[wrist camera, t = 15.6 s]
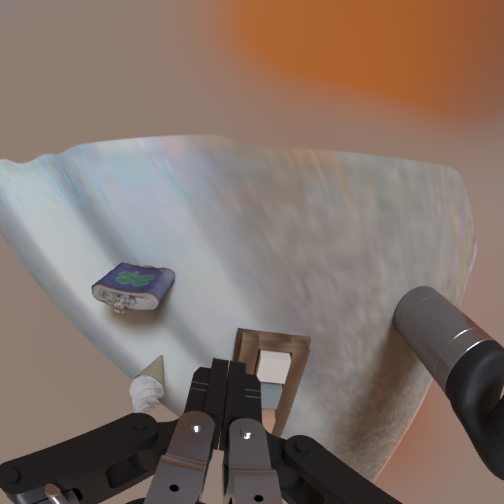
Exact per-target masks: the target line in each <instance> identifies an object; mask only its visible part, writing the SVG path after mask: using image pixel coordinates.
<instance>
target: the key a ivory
mask: <svg viewBox="0 0 504 504" xmlns="http://www.w3.org/2000/svg"><path fill="white" fill-rule="evenodd" d="M290 363H291V358H290V353H289V352H280V351H271V350H263V349H260V350H259V354H258V359H257V363H256V368H255V374H256V376H257V377H258V379H259V381H261V382H271V383H281V384H285V381H286V377H287V374H288V370H289V367H290Z"/></svg>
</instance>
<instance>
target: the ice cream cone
mask: <svg viewBox="0 0 504 504" xmlns="http://www.w3.org/2000/svg"><path fill="white" fill-rule="evenodd" d="M129 394H130V396H131V398H132V406H133V408H134V413H145V412H147V411H150V410H149V409H148V407H151V408H155V407H154V404H155V403H156V404H158V405H160V402H159V401H158V399H163V396H164V395H165V387H164V369H163V356H162V355H160V356H159V357H158V358H157V359H156V360H155V361H153V362H152V363H151V364H150V365H149V366H148V367H146V368H145V369H144V370H143V371H142V372H141V373H140V374H138V375H136V376H135V377H134V378H133V380H132V384H131V386H130V392H129Z"/></svg>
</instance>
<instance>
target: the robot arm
mask: <svg viewBox="0 0 504 504" xmlns="http://www.w3.org/2000/svg"><path fill="white" fill-rule="evenodd" d="M394 323H395V327H396V329H397V331H398V332H399V333H400V334H401V336H402V337H403V338H404V340H405V341H406V342H407V344H408V345H409V346H410V348H411V349H412V350H413V352H414V353H415V354H416V355H417V357H418V358H419V359H420V361H421V362H422V363H423V365H424V366H425V367H426V369H427V370H428V371H429V373H430V374H431V376H432V377H433V378H434V380H435V381H436V382H437V384H438V385H439V386H440V388H441V389H442V391H443V392H444V393H445V395H446V396H447V397H448V399H449V400H450V402H451V406H452V408H453V411H454V412H455V414H456V416H457V417H458V419H459V420H460V422H461V423H462V425H463V427H464V429H465V430H466V432H467V434H468V436H469V438H470V440H471V442H472V443H473V445H474V447H475V449H476V451H477V452H478V455H479V456H480V458H481V459H482V461H483V462H484V464H485V465H486V467H487V468H488V469H489V470H490V471H491V472H492V473H493V474H494V475H495V476H496V477H498V478H500V479H501V480H504V395H503V397H502V398H501V399H500V396H501V392H502V389H503V386H504V348H503V347H502V346H501V345H500V344H499V343H498V342H497V341H495V340H494V339H493V338H492V337H491V336H489V334H488V333H486V332H485V331H484V330H483V329H482V328H480V327H479V326H478V325H477V324H476V323H474V322H473V321H472V320H471V319H470V318H469V317H467V316H466V315H465V314H464V313H463V312H462V311H460V310H459V309H458V308H457V307H456V306H454V305H453V304H452V303H451V302H449V301H448V300H447V299H446V298H445V297H443V296H442V295H441V294H440V293H438V292H437V291H436V290H435V289H433V288H431V287H427V286H423V287H418V288H415V289H413V290H412V291H410V292H409V293H408V294H406V295H405V296H404V297H403V299H402V300H401V301H400V303H399V304H398V306H397V309H396V311H395V315H394ZM228 364H229V360H222V359H216V358H213V362H212V367H211V369H210V368H204V367H200V368H198V369H197V370H196V371H195V372H194V375H193V378H192V382H191V386H190V390H189V394H188V399H187V403H186V407H185V411H184V413H183V414H182V415H181V416H180V418H178V419H177V420H174V421H171V422H156V420H155V419H154V418H153V417H151V416H150V415H148V414H145V413H131V414H129V415H126V416H124V417H122V418H120V419H117V420H115V421H113V422H111V423H109V424H106V425H104V426H102V427H99V428H97V429H94V430H92V431H89V432H87V433H85V434H82V435H80V436H77V437H75V438H72V439H70V440H67V441H64V442H62V443H59V444H57V445H54V446H51V447H48V448H46V449H43V450H40V451H37V452H34V453H32V454H28V455H26V456H23V457H19V458H16V459H13V460H10V461H7V462H4V463H2V464H1V465H0V488H1V489H2V490H3V491H4V492H5V494H6V495H7V497H8V498H9V499H10V501H12V503H13V504H98V503H100V502H102V501H105V500H107V499H109V498H111V497H113V496H115V495H117V494H119V493H121V492H123V491H124V490H126V489H128V488H130V487H132V486H134V485H136V484H138V483H139V482H141V481H143V480H145V479H147V478H148V477H150V476H152V475H154V476H153V479H152V482H151V484H150V487H149V490H148V492H147V495H146V498H140V499H136V500H133V501H130V502H128V503H126V504H205V503H202V502H201V499H202V494H203V490H204V485H205V481H206V477H207V471H208V468H209V463H210V461H211V459H212V453H213V449H215V450H217V449H218V443H219V437H220V445H219V450H222V451H224V458H223V463H222V484H223V504H283V503H282V498H283V499H284V500H285V501H286V502H287V503H288V504H402V503H401V502H399V501H398V500H396V499H394V498H393V497H391V496H390V495H388V494H387V493H386V492H384V491H382V490H381V489H380V488H378V487H377V486H375V485H374V484H373V483H371V482H370V481H368V480H367V479H365V478H364V477H363V476H361V475H360V474H358V473H357V472H356V471H354V470H353V469H352V468H350V467H349V466H348V465H346V464H345V463H344V462H342V461H341V460H340V459H338V458H337V457H336V456H334V455H333V454H332V453H331V452H329V451H328V450H327V449H325V448H324V447H323V446H322V445H320V444H319V443H318V442H317V441H315V440H314V439H312V438H311V437H308V436H304V435H296V436H292V437H290V438H289V439H288V440H286V439H282V438H279V437H276V436H274V435H272V434H270V433H269V432H268V431H267V430H266V429H265V428H264V426H263V423H262V403H261V382H260V381H259V379H258V377H257V376H256V375H254V374H246V363H244V362H237V361H230V364H229V370H228ZM227 373H228V376H227ZM220 431H221V435H220ZM281 497H282V498H281Z"/></svg>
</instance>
